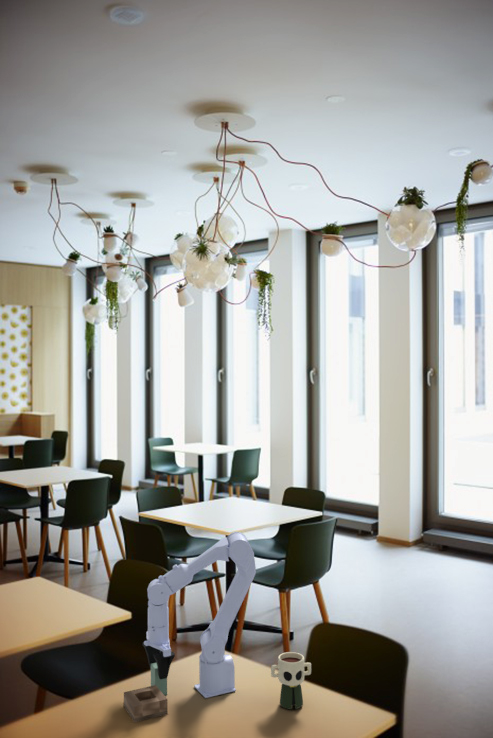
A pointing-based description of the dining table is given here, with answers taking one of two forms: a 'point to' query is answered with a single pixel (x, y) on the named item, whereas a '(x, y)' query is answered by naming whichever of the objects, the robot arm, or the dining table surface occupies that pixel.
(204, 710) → the dining table surface
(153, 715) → the hole block
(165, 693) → the square peg
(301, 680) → the character mug
